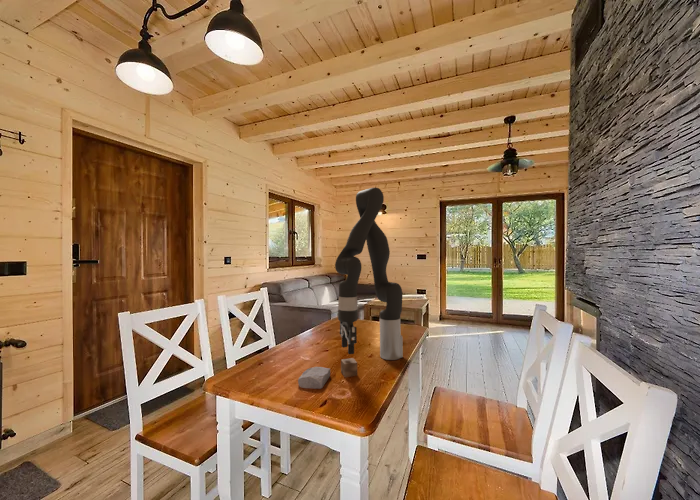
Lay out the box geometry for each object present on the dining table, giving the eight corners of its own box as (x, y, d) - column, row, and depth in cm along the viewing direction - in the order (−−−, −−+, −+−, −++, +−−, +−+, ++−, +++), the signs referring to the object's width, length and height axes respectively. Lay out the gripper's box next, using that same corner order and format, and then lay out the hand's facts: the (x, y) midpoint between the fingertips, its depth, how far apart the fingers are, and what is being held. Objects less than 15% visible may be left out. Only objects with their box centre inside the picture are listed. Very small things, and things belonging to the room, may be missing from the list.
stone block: (296, 393, 100) (323, 389, 98) (294, 379, 100) (321, 375, 98) (308, 379, 111) (332, 376, 109) (306, 367, 112) (330, 363, 110)
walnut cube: (353, 370, 114) (353, 357, 114) (357, 375, 109) (357, 362, 109) (341, 372, 112) (340, 359, 112) (344, 377, 107) (344, 364, 107)
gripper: (363, 311, 105) (363, 355, 105) (351, 304, 119) (351, 344, 118) (343, 312, 103) (343, 357, 103) (333, 305, 117) (333, 345, 116)
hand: (347, 350), depth 110 cm, fingers open, 8 cm apart
